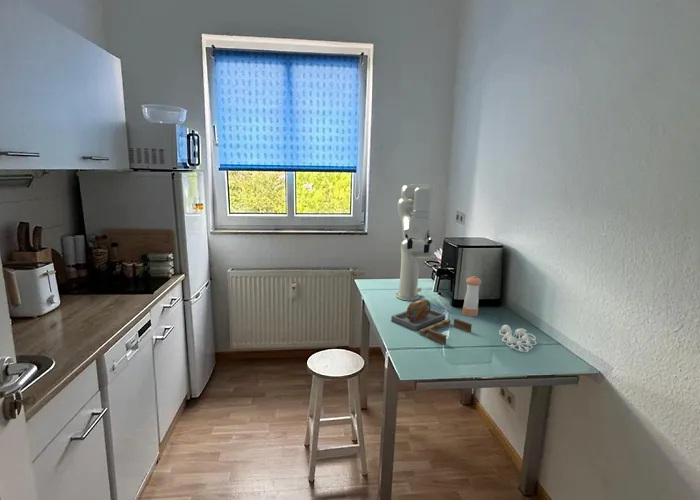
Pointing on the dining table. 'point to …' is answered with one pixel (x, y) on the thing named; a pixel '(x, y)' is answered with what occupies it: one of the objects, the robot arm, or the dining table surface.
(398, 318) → the tray
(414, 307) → the tin
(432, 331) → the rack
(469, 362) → the dining table surface
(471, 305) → the pepper shaker
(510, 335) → the tangled rod sculpture
